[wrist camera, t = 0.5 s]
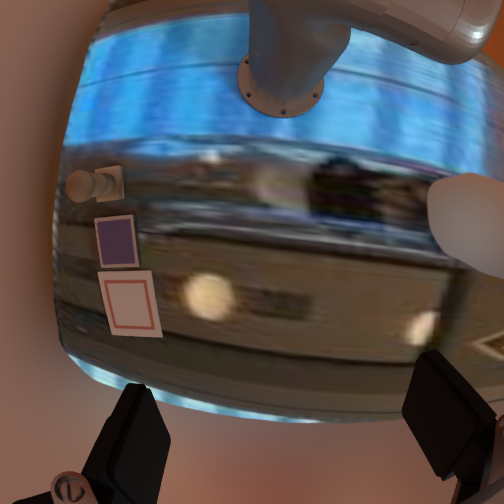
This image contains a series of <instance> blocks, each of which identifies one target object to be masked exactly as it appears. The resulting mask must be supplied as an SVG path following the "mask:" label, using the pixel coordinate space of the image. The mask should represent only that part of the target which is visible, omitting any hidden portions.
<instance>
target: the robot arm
mask: <svg viewBox="0 0 504 504" xmlns="http://www.w3.org/2000/svg"><path fill="white" fill-rule="evenodd" d="M502 1H503V0H248V2H249V53H248V54H247V55H246V56H245V57H244V58H243V60H242V62H241V63H240V66H239V69H238V74H237V82H238V87H239V91H240V93H241V95H242V97H243V98H244V99H245V101H246V102H247V103H248V104H249V105H250V106H251V107H252V108H253V109H255V110H257V111H258V112H260V113H262V114H265V115H267V116H270V117H275V118H292V117H296V116H299V115H302V114H304V113H306V112H308V111H309V110H310V109H311V108H313V107H314V106H315V104H316V103H317V102H318V101H319V99H320V98H321V95H322V92H323V89H324V76H325V75H326V73H327V72H328V71H329V70H330V68H331V67H332V66H333V65H334V63H335V62H336V61H337V60H338V59H339V57H340V56H341V55H342V53H343V52H344V51H345V49H346V48H347V46H348V44H349V40H350V36H351V28H354V29H357V30H360V31H365V32H368V33H371V34H373V35H376V36H379V37H381V38H384V39H386V40H389V41H391V42H393V43H396V44H398V45H400V46H402V47H405V48H407V49H409V50H411V51H414V52H416V53H418V54H420V55H422V56H424V57H426V58H429V59H431V60H433V61H436V62H438V63H442V64H446V65H458V64H462V63H465V62H467V61H469V60H471V59H472V58H474V57H475V56H476V55H477V54H478V53H479V52H480V51H481V50H482V48H483V47H484V45H485V44H486V42H487V41H488V39H489V37H490V35H491V33H492V31H493V28H494V26H495V23H496V20H497V18H498V14H499V12H500V8H501V5H502ZM246 63H248V64H246ZM247 95H250V97H247ZM313 96H315V97H316V98H314V97H313ZM281 112H284V113H285V114H282V113H281ZM402 415H403V417H404V419H405V421H406V422H407V424H408V426H409V428H410V429H411V431H412V433H413V435H414V436H415V438H416V440H417V442H418V443H419V445H420V447H421V449H422V451H423V452H424V454H425V456H426V458H427V460H428V461H429V463H430V465H431V467H432V469H433V471H434V472H435V474H436V476H438V477H441V479H442V481H445V480H447V479H449V478H451V477H453V476H454V475H456V477H457V479H458V480H457V484H456V488H455V491H454V494H453V497H452V500H451V503H450V504H504V415H502V416H501V417H499V419H498V420H496V419H495V417H496V416H497V414H496V413H495V412H494V411H493V410H492V409H491V407H490V406H489V405H488V404H487V403H486V402H485V401H484V399H483V398H482V397H481V396H480V395H479V394H478V393H477V392H476V390H475V389H474V388H473V387H472V386H471V385H470V384H469V383H468V382H467V381H466V380H465V378H464V377H463V376H462V375H461V374H460V373H459V372H458V371H457V370H456V369H455V368H454V367H453V366H452V365H451V364H450V363H449V362H448V361H447V359H446V358H445V357H444V356H443V355H442V354H441V353H440V352H439V351H438V350H436V349H433V350H430V351H427V352H423V353H421V355H420V357H419V358H418V359H417V361H416V364H415V368H414V371H413V375H412V378H411V382H410V385H409V388H408V392H407V395H406V398H405V401H404V404H403V407H402ZM170 443H171V439H170V435H169V432H168V430H167V428H166V426H165V423H164V421H163V419H162V416H161V414H160V412H159V409H158V407H157V404H156V402H155V399H154V397H153V394H152V392H151V390H150V389H149V388H146V386H145V385H144V384H136V383H128V384H127V385H126V387H125V389H124V391H123V392H122V394H121V396H120V398H119V400H118V402H117V404H116V406H115V408H114V410H113V412H112V414H111V416H110V417H108V419H107V420H106V422H105V424H104V426H103V428H102V430H101V432H100V434H99V436H98V438H97V440H96V442H95V444H94V446H93V448H92V451H91V453H90V455H89V457H88V459H87V461H86V463H85V466H84V468H83V470H82V472H81V474H79V473H77V472H73V471H67V472H63V473H60V474H58V475H57V476H56V477H55V478H54V479H53V481H52V482H51V488H50V489H51V491H49V492H45V493H43V494H39V495H36V496H33V497H29V498H26V499H21V500H18V501H16V502H14V503H12V504H157V499H158V495H159V491H160V486H161V481H162V477H163V473H164V469H165V465H166V461H167V456H168V452H169V448H170Z"/></svg>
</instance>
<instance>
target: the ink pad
mask: <svg viewBox="0 0 504 504" xmlns="http://www.w3.org/2000/svg"><path fill="white" fill-rule="evenodd" d="M94 220H95V229H96V236H97V244H98V250H99V257H100V263H101V268H109V267H139V266H140V265H142V262H141V255H140V247H139V239H138V230H137V221H136V214H127V215H116V216H107V217H98V218H94Z"/></svg>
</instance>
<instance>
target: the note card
mask: <svg viewBox="0 0 504 504" xmlns="http://www.w3.org/2000/svg"><path fill="white" fill-rule="evenodd" d="M98 277H99V282H100V287H101V292H102V296H103V301H104V305H105V309H106V313H107V317H108V321H109V325H110V329H111V332H112V335H124V336H142V337H163V335H162V330H161V325H160V320H159V314H158V309H157V303H156V297H155V291H154V285H153V278H152V272H151V270H140V271H98Z"/></svg>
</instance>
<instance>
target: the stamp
mask: <svg viewBox="0 0 504 504" xmlns="http://www.w3.org/2000/svg"><path fill="white" fill-rule="evenodd" d="M66 192H67V195H68V197H69V198H70V199H71V200H73V201H75V202H84V201H87V200H88V199H89V198H91V197H97V202H103V201H111V200H119V199H125V198H126V193H125V177H124V166H112V167H106V168H100V169H95V173H89V172H87V171H84V170H80V171H76V172H74V173H73V174H71V175H70V177H69V178H68V180H67V183H66Z"/></svg>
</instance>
